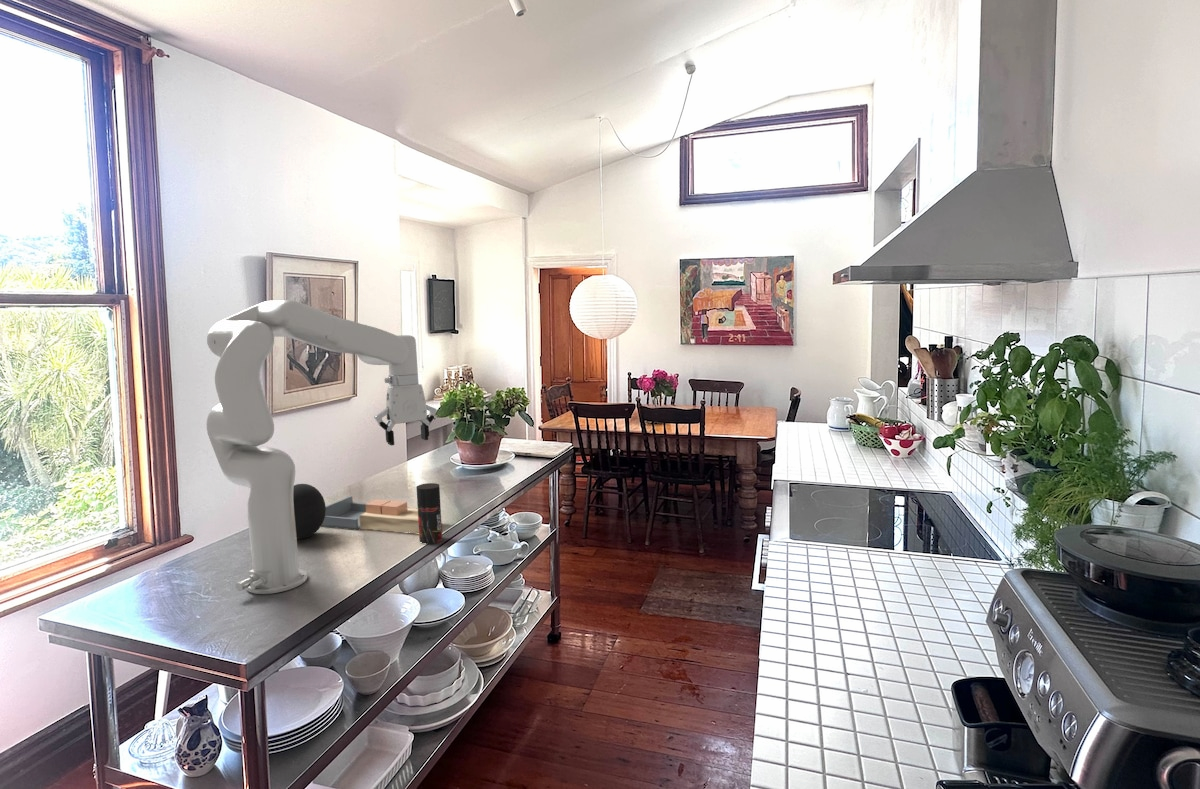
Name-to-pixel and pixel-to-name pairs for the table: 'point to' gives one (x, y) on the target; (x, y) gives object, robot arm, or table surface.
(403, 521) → the board
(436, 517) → the deodorant
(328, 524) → the tray
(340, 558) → the table surface
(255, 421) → the robot arm
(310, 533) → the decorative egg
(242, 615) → the table surface
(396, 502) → the tile
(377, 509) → the tile
